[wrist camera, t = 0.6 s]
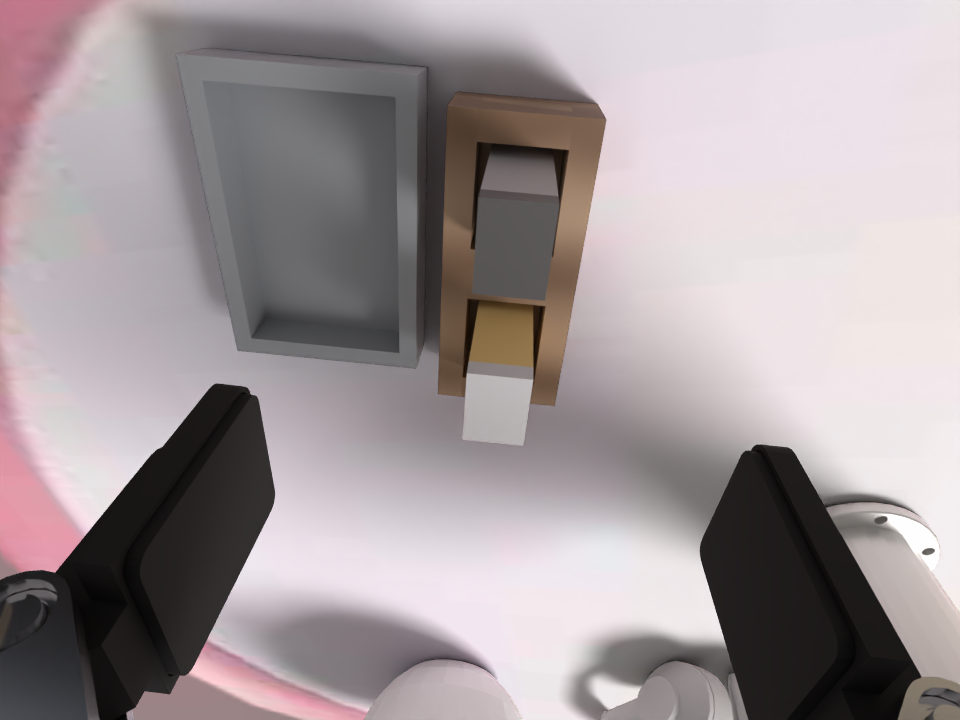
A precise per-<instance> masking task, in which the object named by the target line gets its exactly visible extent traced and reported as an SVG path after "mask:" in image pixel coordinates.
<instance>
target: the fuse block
mask: <svg viewBox="0 0 960 720" xmlns="http://www.w3.org/2000/svg"><path fill="white" fill-rule="evenodd" d="M605 124H606V118H605V116H604V114H603V113H602V111H601V109H600V107H599V106H598V104H593V103H582V102H570V101H559V100H547V99H536V98H524V97H513V96H501V95H490V94H478V93H466V92H457V93H456V94H455V96H454V97H453V98H452V100H451V101H450V102H449V104H448V105H447V127H446V158H445V189H444V221H443V252H442V284H441V315H440V346H439V378H438V394H441V395H451V396H461V397H465V392H466V377H467V369H468V363H469V357H470V351H471V346H472V340H473V334H474V328H475V322H476V316H477V310H478V304H479V300H487V301H497V302H508V303H518V304H528V305H533V385H532V392H531V399H530V404H540V405H550V406H555V400H556V395H557V389H558V384H559V378H560V373H561V367H562V362H563V356H564V351H565V345H566V340H567V334H568V329H569V323H570V318H571V312H572V307H573V301H574V295H575V290H576V284H577V279H578V273H579V268H580V262H581V257H582V251H583V246H584V240H585V235H586V229H587V224H588V218H589V213H590V207H591V202H592V196H593V191H594V185H595V180H596V174H597V168H598V163H599V157H600V152H601V146H602V141H603V135H604V130H605ZM492 143H497V144H508V145H519V146H530V147H542V148H552V149H553V157H554V165H555V173H556V181H557V189H558V197H559V211H558V218H557V224H556V231H555V238H554V244H553V251H552V258H551V265H550V271H549V278H548V285H547V291H546V298H545V301H542V300H532V299H521V298H511V297H501V296H490V295H480V294H472V287H473V272H474V257H475V242H476V227H477V212H478V197H479V193H480V189H481V185H482V181H483V178H484V174H485V170H486V166H487V162H488V158H489V154H490V150H491V147H492Z"/></svg>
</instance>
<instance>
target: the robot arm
mask: <svg viewBox="0 0 960 720" xmlns="http://www.w3.org/2000/svg"><path fill="white" fill-rule="evenodd" d="M274 499H275V489H274V483H273V478H272V472H271V467H270V461H269V456H268V450H267V444H266V439H265V433H264V428H263V422H262V417H261V411H260V405H259V401H258V398H257V396H255V395H251V394H250V391H249V390H248V388H247V387H243V386H234V385H225V384H214V385H213V386H212V387H211V388H210V389H209V390H208V391H207V392H206V394H205V395H204V396H203V397H202V399H201V400H200V401H199V402H198V404H197V405H196V406H195V407H194V409H193V410H192V411H191V412H190V414H189V415H188V416H187V417H186V419H185V420H184V421H183V422H182V424H181V425H180V426H179V427H178V429H177V430H176V431H175V432H174V433H173V435H172V436H171V437H170V438H169V440H168V441H167V442H166V443H165V445H164V446H163V447H162V448H159V449H157V450H156V451H155V452H154V453H153V454H152V455H151V456H150V457H149V458H148V459H147V461H146V462H145V463H144V464H143V466H142V467H141V468H140V469H139V470H138V472H137V473H136V474H135V475H134V477H133V478H132V479H131V480H130V482H129V483H128V484H127V485H126V486H125V488H124V489H123V490H122V491H121V493H120V494H119V495H118V496H117V497H116V499H115V500H114V501H113V502H112V504H111V505H110V506H109V507H108V509H107V510H106V511H105V512H104V513H103V515H102V516H101V517H100V518H99V520H98V521H97V522H96V523H95V524H94V526H93V527H92V528H91V529H90V531H89V532H88V533H87V534H86V536H85V537H84V538H83V539H82V540H81V542H80V543H79V544H78V545H77V547H76V548H75V549H74V550H73V552H72V553H71V554H70V555H69V556H68V558H67V559H66V560H65V561H64V563H63V564H62V565H61V566H60V567H59V569H58V570H57V571H56V572H55V573H54V572H49V571H44V570H37V571H25V572H22V573H18V574H15V575H11V576H8V577H5V578H3V579H1V580H0V720H134V718H133V713H132V709H133V708H135V707H136V705H137V704H138V702H139V700H140V698H141V696H142V695H143V693H144V691H148V692H156V693H164V694H170V693H171V691H172V689H173V687H174V685H175V683H176V681H177V679H178V678H179V676H180V675H182V676H185V675H187V674H188V673H189V672H190V671H191V670H192V668H193V666H194V664H195V662H196V660H197V658H198V656H199V654H200V652H201V650H202V648H203V646H204V644H205V642H206V640H207V638H208V636H209V634H210V632H211V630H212V628H213V626H214V624H215V622H216V620H217V618H218V616H219V614H220V612H221V610H222V608H223V606H224V604H225V602H226V600H227V598H228V596H229V594H230V592H231V590H232V588H233V586H234V584H235V582H236V580H237V578H238V576H239V574H240V572H241V570H242V568H243V566H244V564H245V562H246V560H247V558H248V556H249V554H250V552H251V550H252V548H253V546H254V544H255V542H256V540H257V538H258V536H259V534H260V532H261V530H262V528H263V526H264V524H265V522H266V520H267V518H268V516H269V514H270V512H271V510H272V507H273V504H274ZM939 556H940V545H939V543H938V540H937V537H936V535H935V534H934V533H933V531H932V530H931V529H930V527H929V526H928V525H927V523H926V522H925V521H924V520H922V519H921V518H920V517H919V516H918V515H916V514H914V513H912V512H910V511H908V510H907V509H904V508H900V507H897V506H894V505H889V504H882V503H874V502H856V503H847V504H839V505H834V506H830V507H825V506H824V504H823V502H822V501H821V499H820V497H819V495H818V494H817V492H816V490H815V488H814V487H813V485H812V483H811V481H810V479H809V478H808V476H807V474H806V472H805V471H804V469H803V467H802V465H801V464H800V462H799V460H798V458H797V456H796V455H795V453H794V452H793V451H792V449H790V448H787V447H778V446H769V445H755V446H754V447H753V448H752V450H751V451H745V452H743V454H742V455H741V457H740V459H739V462H738V464H737V466H736V468H735V470H734V472H733V474H732V477H731V479H730V481H729V483H728V485H727V487H726V489H725V491H724V494H723V496H722V498H721V500H720V502H719V504H718V506H717V509H716V511H715V513H714V515H713V517H712V519H711V521H710V524H709V526H708V528H707V530H706V532H705V534H704V536H703V538H702V541H701V545H700V557H701V562H702V565H703V569H704V572H705V575H706V579H707V582H708V585H709V589H710V592H711V596H712V599H713V602H714V606H715V609H716V613H717V616H718V619H719V623H720V626H721V629H722V633H723V636H724V640H725V643H726V646H727V650H728V653H729V656H730V660H731V663H732V667H733V670H734V673H735V677H736V680H737V684H738V687H739V690H740V694H741V697H742V700H743V704H744V707H745V711H746V714H747V717H748V720H960V612H959V611H958V609H957V608H956V607H955V605H954V604H953V602H952V601H951V599H950V598H949V596H948V595H947V593H946V592H945V590H944V589H943V588H942V586H941V585H940V583H939V582H938V580H937V579H936V577H935V576H934V574H933V573H932V571H933V570H934V568H935V567H936V564H937V561H938V559H939Z"/></svg>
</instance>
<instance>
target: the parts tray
mask: <svg viewBox="0 0 960 720" xmlns="http://www.w3.org/2000/svg"><path fill="white" fill-rule="evenodd" d="M176 58H177V63H178V68H179V73H180V77H181V82H182V87H183V92H184V97H185V101H186V106H187V111H188V116H189V121H190V125H191V130H192V135H193V140H194V144H195V149H196V154H197V159H198V164H199V168H200V173H201V178H202V183H203V188H204V192H205V197H206V202H207V207H208V212H209V216H210V221H211V226H212V231H213V236H214V240H215V245H216V250H217V255H218V259H219V264H220V269H221V274H222V279H223V283H224V288H225V293H226V298H227V303H228V307H229V312H230V317H231V322H232V327H233V331H234V336H235V341H236V346H237V350H238V351H246V352H256V353H266V354H276V355H286V356H296V357H306V358H316V359H326V360H336V361H346V362H355V363H365V364H375V365H385V366H395V367H405V368H415V369H416V367H417V364H418V361H419V358H420V354H421V351H422V348H423V344H424V312H425V238H426V165H427V91H428V67H425V66H413V65H402V64H390V63H378V62H367V61H355V60H343V59H332V58H320V57H308V56H297V55H285V54H273V53H261V52H250V51H238V50H226V49H215V48H204V49H199V50H193V51H188V52H183V53H177V54H176Z"/></svg>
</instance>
